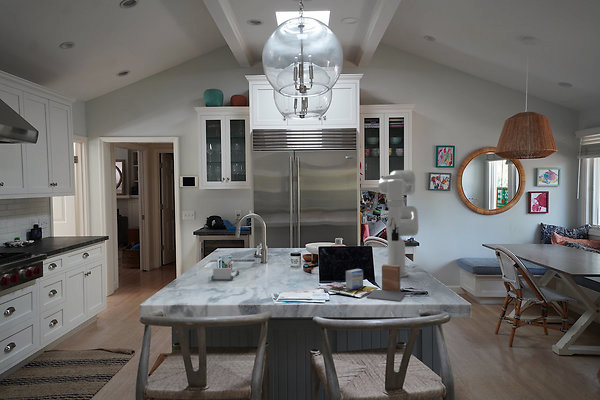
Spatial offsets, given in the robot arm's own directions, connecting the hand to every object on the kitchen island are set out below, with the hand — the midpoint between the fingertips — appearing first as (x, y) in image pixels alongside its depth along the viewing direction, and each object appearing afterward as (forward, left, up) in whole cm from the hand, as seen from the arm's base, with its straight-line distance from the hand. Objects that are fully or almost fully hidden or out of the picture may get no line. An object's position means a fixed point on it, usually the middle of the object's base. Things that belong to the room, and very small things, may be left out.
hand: (395, 240), depth 200 cm
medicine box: (+11, -18, -23) cm, 31 cm away
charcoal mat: (+20, 0, -23) cm, 30 cm away
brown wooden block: (+10, 0, -23) cm, 25 cm away
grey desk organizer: (+15, -92, -23) cm, 96 cm away
